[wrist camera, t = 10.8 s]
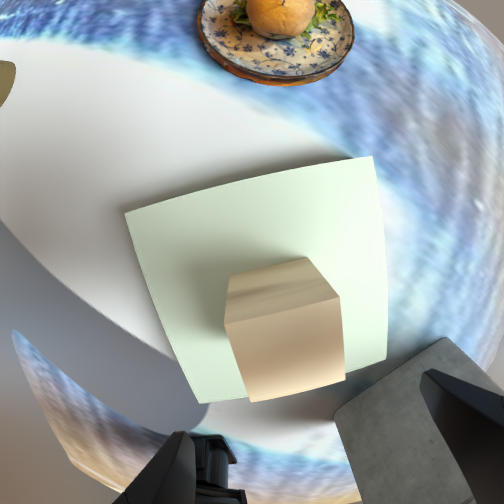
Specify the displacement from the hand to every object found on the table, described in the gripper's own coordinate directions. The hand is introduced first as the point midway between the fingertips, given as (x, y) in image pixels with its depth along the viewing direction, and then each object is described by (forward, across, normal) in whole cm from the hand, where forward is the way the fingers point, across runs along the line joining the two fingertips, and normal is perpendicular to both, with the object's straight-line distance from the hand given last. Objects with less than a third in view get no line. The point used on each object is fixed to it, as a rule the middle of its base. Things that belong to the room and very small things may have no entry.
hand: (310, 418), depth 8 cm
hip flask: (+13, -11, +15) cm, 23 cm away
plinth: (+13, 0, 0) cm, 13 cm away
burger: (+13, -5, -20) cm, 24 cm away
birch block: (+10, 0, 0) cm, 10 cm away
